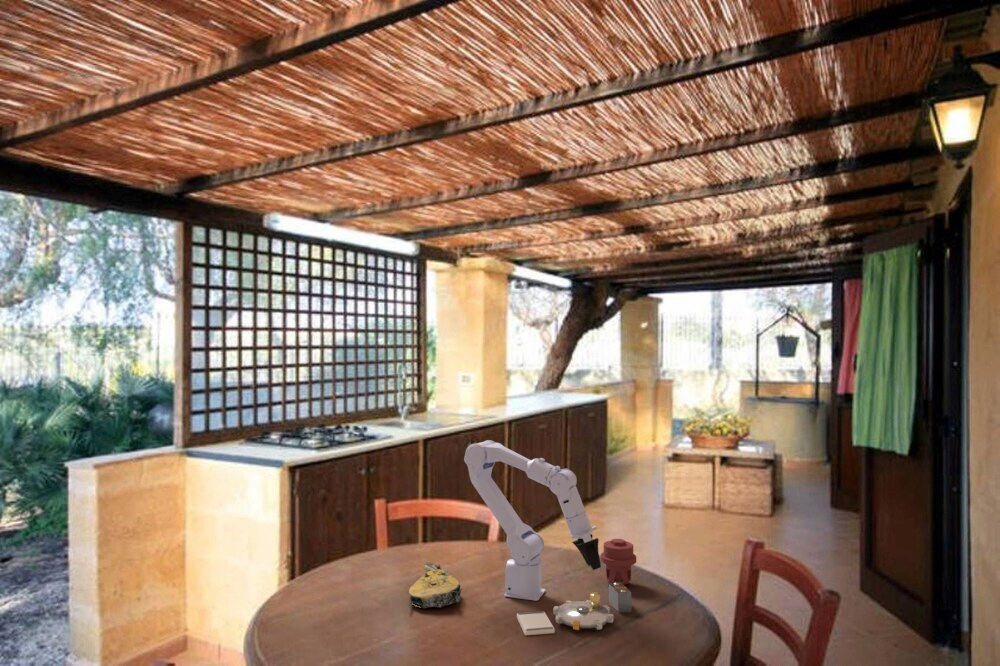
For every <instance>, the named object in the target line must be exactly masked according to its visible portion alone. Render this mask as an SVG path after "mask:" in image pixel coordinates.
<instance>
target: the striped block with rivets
mask: <svg viewBox="0 0 1000 666" xmlns="http://www.w3.org/2000/svg"><path fill="white" fill-rule="evenodd" d="M608 603H609V605H611V607H612V606H613V607H614V608H615V609H616V610H617V611H618V612H627V613H632V592H631V590H629V588H628V587H627V586H625V585H623V584H622V583H609V582H608ZM613 607H612V608H613ZM614 608H613V609H614ZM615 609H614V610H615ZM616 610H615V611H616ZM617 611H616V612H617ZM618 612H617V613H618Z"/></svg>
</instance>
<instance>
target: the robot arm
mask: <svg viewBox="0 0 1000 666" xmlns="http://www.w3.org/2000/svg"><path fill="white" fill-rule="evenodd" d="M463 461H464V463H465V464H466V467H467V470H468V474H469V478H470V479H469V480H470V482H471V484H472V485H473V487H474V489H475V490H476V491H477V493H478V494H479V496H480V497H481V498H482V500H483V502H484V503H485V505H486V506H487V507H488V509H489V510H490V512H491V514H492V515H493V517H494V518H495V519H496V520H497V522H498V524H499V525H500V526H501V528H502V529H503V531H504V533H505V535H506V545H507V546H508V549H509V552H510V556H511V558H509V559H507V562H506V564H505V571H504V572H505V573H504V580H505V581H504V583H505V584H504V591H505V592H504V594H503V595H504V597H507V598H514V599H522V600H529V601H535V602H537V601H539V600H540V598H541V597H542V596H543V595H544V593H546V588H542V559H541V554H542V553H543V551H544V549H545V541H544V539H543V537H542V536H541V535H540V534H539V533H537V532H536V531H535V530H534V529H533V527H532V526H530V525H528V524H526V523H525V522H523V521H522V520H521V518H520V517H519V514H517V512H516V510H514V508H513V506H512V505H511V503H510V502H509V501H508V500H507V499H508V498H506V497H505V495H504V494H503V491H502V490H501V489H500V488H499V486H498V485H497V483H496V482H495V481H494V479H493V478H492V471H493V468H494V466H495V464H496V462H502V463H503V464H506V465H509V466H511V467H514V468H517V469H519V470H521V471H523V472H525V474H526V476H527V478H528V479H531V480H532V481H534V482H537V483H539V484H542V485H543V486H546V487H548V488H549V490H550V492H552V493H553V494H554V495H556V498H557V500H558V503H559V505H560V508H561V511H562V514H563V516H564V520H565V522H566V524H567V527H568V528H567V529H568V530H569V532H570V538H571V539H572V540H573V541H572V544H573V545H574V547H576V548H577V550H578V551H579V553H580V554H581V556H582V558H583V560H584V561H585V563H586V565H587V566H589V567H590V568H591V569H592V570H593V571H595V570H598V569H599V568H602V566H601V557H600V554H599V538H598V537H597V538H594V539H593V537H594V536H593V532H594V531H596V530H597V529H598V528H597V526H596V525H594V526H592V525H591V522H590V520H589V517H588V515H587V512H586V509H585V506H584V504H583V501H582V498H581V495H580V493H579V490H578V487H577V482H578V479H577V478H578V477H577V476H576V474H575V472H573V471H572V470H570V469H569V468H562V469H561V466H559V465H553V464H551V463H548V462H546V459H545V458H542V457H540V458H535V457H534V458H533V459H529V458H528V457H525V456H523V455H521V454H520V453H517V452H515V451H514V450H512V449H510V448H508V447H506V446H504V445H503V444H502V443H500V442H496V441H494V440H490V439H487V440H484V441H482V442H481V441H480V442H478V443H472V444H471V443H470V444H469V445H468V446H467V448H466V449H465V453H464V457H463ZM574 539H575V540H574Z"/></svg>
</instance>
